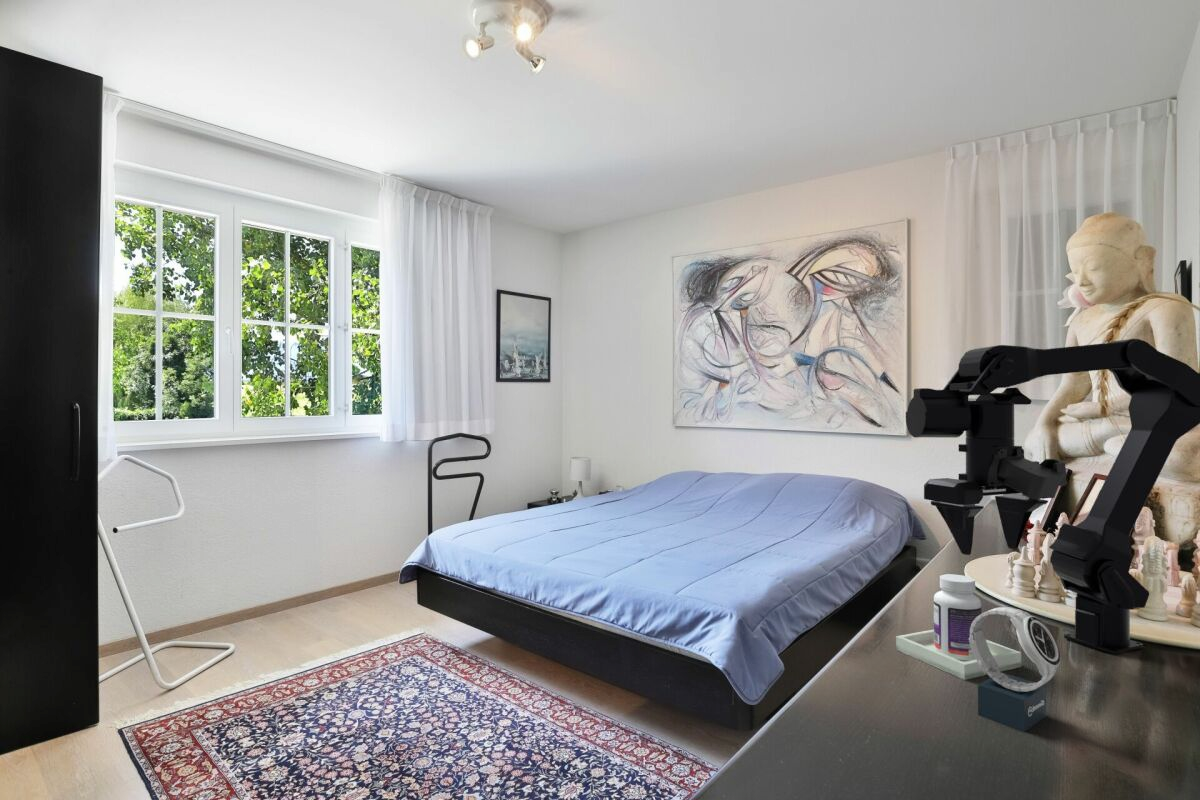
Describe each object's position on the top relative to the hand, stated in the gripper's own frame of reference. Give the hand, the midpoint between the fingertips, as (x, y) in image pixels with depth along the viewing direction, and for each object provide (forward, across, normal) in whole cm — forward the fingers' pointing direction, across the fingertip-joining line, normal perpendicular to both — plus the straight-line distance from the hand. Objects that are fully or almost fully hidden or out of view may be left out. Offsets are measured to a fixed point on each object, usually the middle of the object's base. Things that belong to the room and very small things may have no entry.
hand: (989, 551), depth 87 cm
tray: (+12, -9, -2) cm, 16 cm away
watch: (+13, -17, -15) cm, 26 cm away
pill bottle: (+12, -9, -2) cm, 15 cm away
